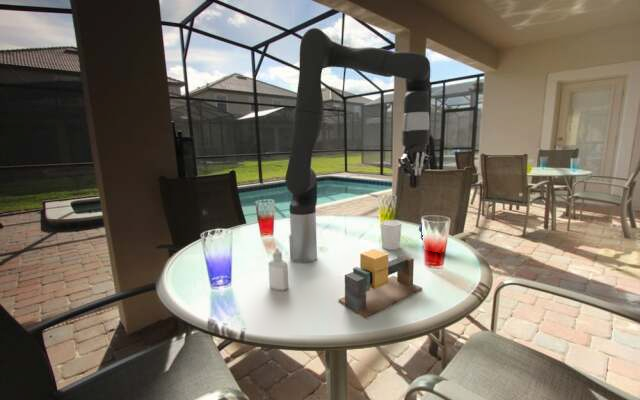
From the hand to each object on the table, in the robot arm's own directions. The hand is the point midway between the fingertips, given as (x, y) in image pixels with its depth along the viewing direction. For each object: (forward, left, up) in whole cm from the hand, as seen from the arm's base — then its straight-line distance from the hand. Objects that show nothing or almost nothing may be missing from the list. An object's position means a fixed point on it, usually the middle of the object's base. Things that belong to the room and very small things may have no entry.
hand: (414, 187), depth 90 cm
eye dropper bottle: (-40, -15, -27) cm, 50 cm away
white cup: (-5, +22, -27) cm, 35 cm away
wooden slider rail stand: (-11, -17, -27) cm, 34 cm away
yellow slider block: (-13, -19, -22) cm, 32 cm away
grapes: (+9, +22, -27) cm, 36 cm away
